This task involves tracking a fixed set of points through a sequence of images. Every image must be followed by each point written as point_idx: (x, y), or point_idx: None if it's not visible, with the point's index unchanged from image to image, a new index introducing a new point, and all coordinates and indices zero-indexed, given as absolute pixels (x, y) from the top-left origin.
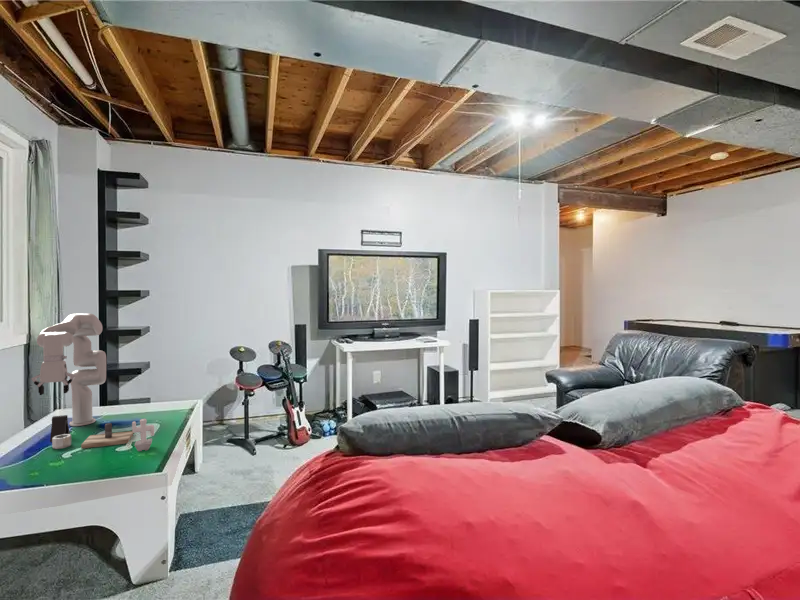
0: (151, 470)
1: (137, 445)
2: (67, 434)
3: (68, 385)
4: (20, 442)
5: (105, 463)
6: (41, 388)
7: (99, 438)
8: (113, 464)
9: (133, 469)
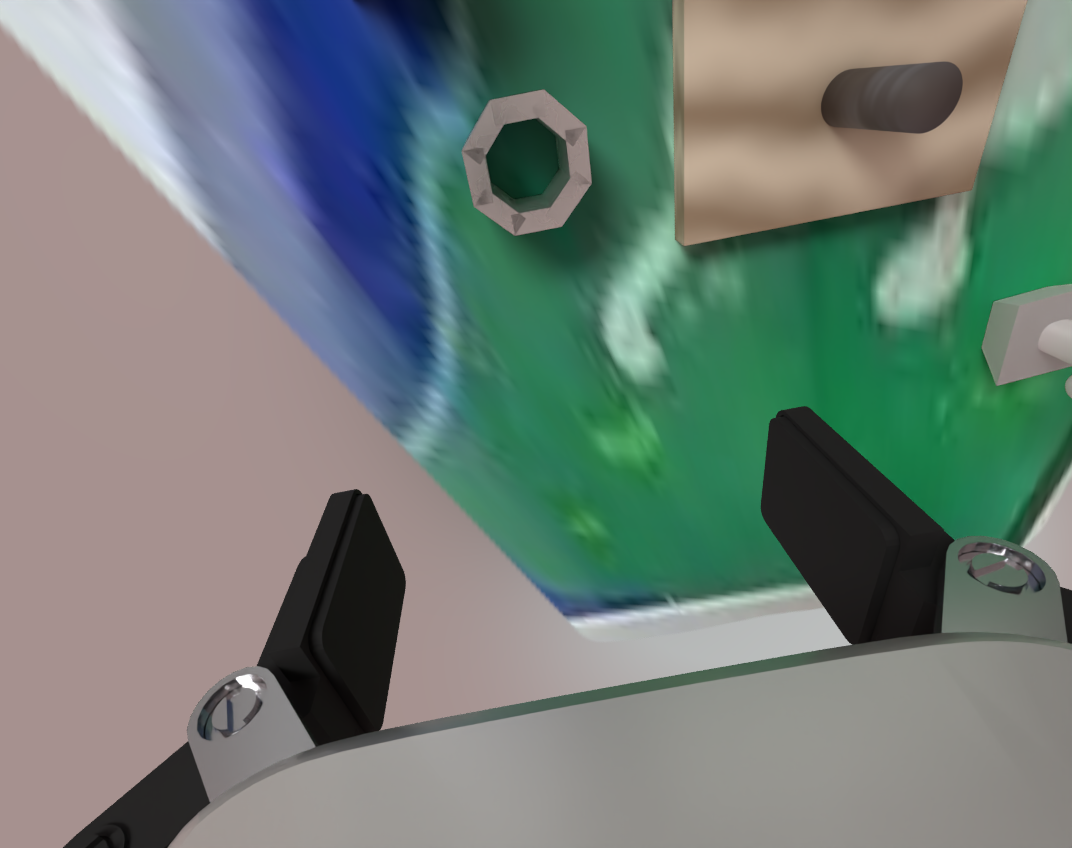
0: None
1: (1010, 379)
2: (551, 113)
3: (941, 550)
4: None
5: None
6: (384, 697)
7: (781, 116)
8: None
9: None
